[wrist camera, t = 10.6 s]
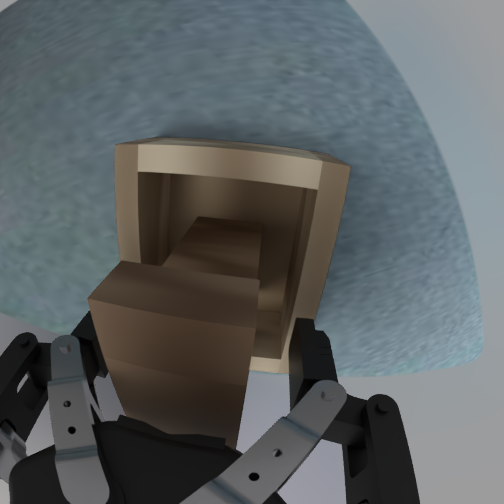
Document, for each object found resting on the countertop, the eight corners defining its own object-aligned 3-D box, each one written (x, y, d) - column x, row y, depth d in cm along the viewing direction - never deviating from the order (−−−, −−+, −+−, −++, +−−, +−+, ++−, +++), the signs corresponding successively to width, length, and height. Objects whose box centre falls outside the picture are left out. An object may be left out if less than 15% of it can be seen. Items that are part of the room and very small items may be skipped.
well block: (158, 305, 21) (134, 349, 17) (154, 137, 16) (114, 144, 11) (293, 324, 21) (297, 374, 17) (328, 154, 16) (350, 166, 11)
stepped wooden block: (196, 284, 20) (135, 436, 9) (199, 185, 17) (87, 298, 6) (253, 292, 20) (234, 457, 9) (266, 192, 17) (255, 328, 6)
